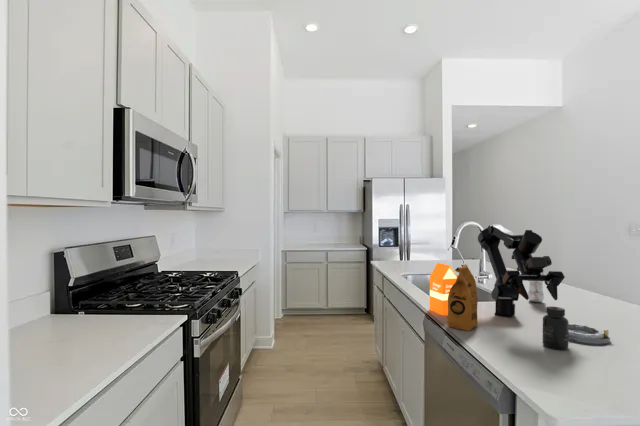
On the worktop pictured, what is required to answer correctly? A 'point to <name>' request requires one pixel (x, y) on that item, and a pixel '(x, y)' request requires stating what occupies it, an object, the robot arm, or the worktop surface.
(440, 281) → the orange juice
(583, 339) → the seat plate
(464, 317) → the coffee package
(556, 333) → the supplement bottle
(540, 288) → the plastic bottle
